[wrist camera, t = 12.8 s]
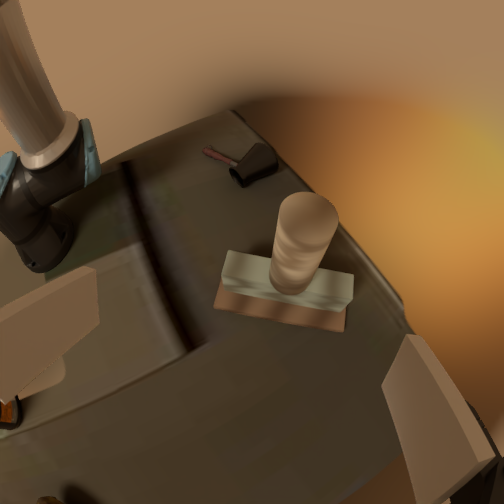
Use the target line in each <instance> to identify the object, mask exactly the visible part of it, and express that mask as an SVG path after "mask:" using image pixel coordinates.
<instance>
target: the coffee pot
mask: <svg viewBox="0 0 504 504" xmlns="http://www.w3.org/2000/svg"><path fill="white" fill-rule="evenodd" d="M208 146H211V145H208ZM203 153H204V154H205V155H207V156H209V157H213V158H214V159H216V160H221V161H224V162H225V163H227V164H228V165H232V166H234V167H231V168H229V172H230V175H231V177H232V178H233V180H234V181H235V182H236V183H237V184H239V185H240V186H241V187H242V188H244V187H245V185H246V184H247V182H250V181H252V180H255V179H258V178H261V177H263V176H266V175H269V174H272V173H274V172H276V171H277V170H278V167H279V163H278V160H277V158H276V156H275V154H274V153H273V151H272V150H271V149H270V148H269V147H268V146H267V145H265V144H263V143H256V144H255V145H254V146H253V147H252V148H251V149H250V150H249V151H248V153H247V154H246V155H245V156H244V157H243V158H242V160H241V161H240V162H239V163H236V162H234V161H233V160H231V159H229V158H226V157H224V156H222V155H221V154H219V153H218V152H215V151H213V150H212V146H211V149H210V148H207V146H206V148H204V149H203Z"/></svg>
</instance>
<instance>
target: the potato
mask: <svg viewBox="0 0 504 504" xmlns="http://www.w3.org/2000/svg"><path fill="white" fill-rule="evenodd" d="M36 504H64V503H62V502H60V501H59V500H57V499H56V498H55V497H52V496H51V497H50V496H46V497H40V498H39V499H38V501H37V503H36Z"/></svg>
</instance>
